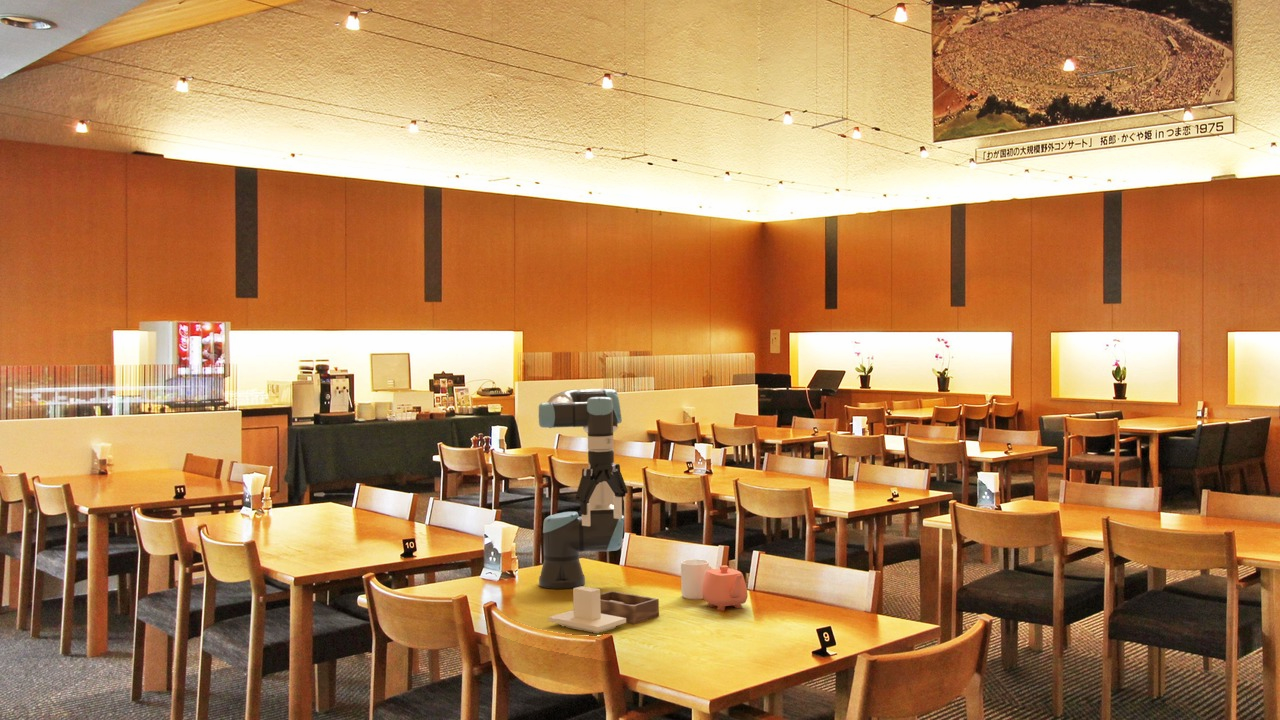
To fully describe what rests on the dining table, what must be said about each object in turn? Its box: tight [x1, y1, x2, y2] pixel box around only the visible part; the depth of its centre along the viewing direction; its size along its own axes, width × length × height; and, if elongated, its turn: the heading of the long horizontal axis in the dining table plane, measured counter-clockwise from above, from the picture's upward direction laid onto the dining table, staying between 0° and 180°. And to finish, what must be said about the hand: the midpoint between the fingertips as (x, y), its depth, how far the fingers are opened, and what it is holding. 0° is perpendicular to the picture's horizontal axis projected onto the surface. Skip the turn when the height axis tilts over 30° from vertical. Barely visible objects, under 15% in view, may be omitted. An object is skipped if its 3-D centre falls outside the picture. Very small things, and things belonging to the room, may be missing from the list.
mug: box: [680, 558, 714, 600], centre depth 331 cm, size 9×12×11 cm
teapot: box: [702, 564, 748, 612], centre depth 316 cm, size 20×12×12 cm, turn 25°
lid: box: [548, 585, 627, 634], centre depth 296 cm, size 19×12×11 cm, turn 50°
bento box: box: [600, 590, 660, 625], centre depth 307 cm, size 18×11×5 cm, turn 50°
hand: (602, 522), depth 312 cm, fingers open, 13 cm apart
